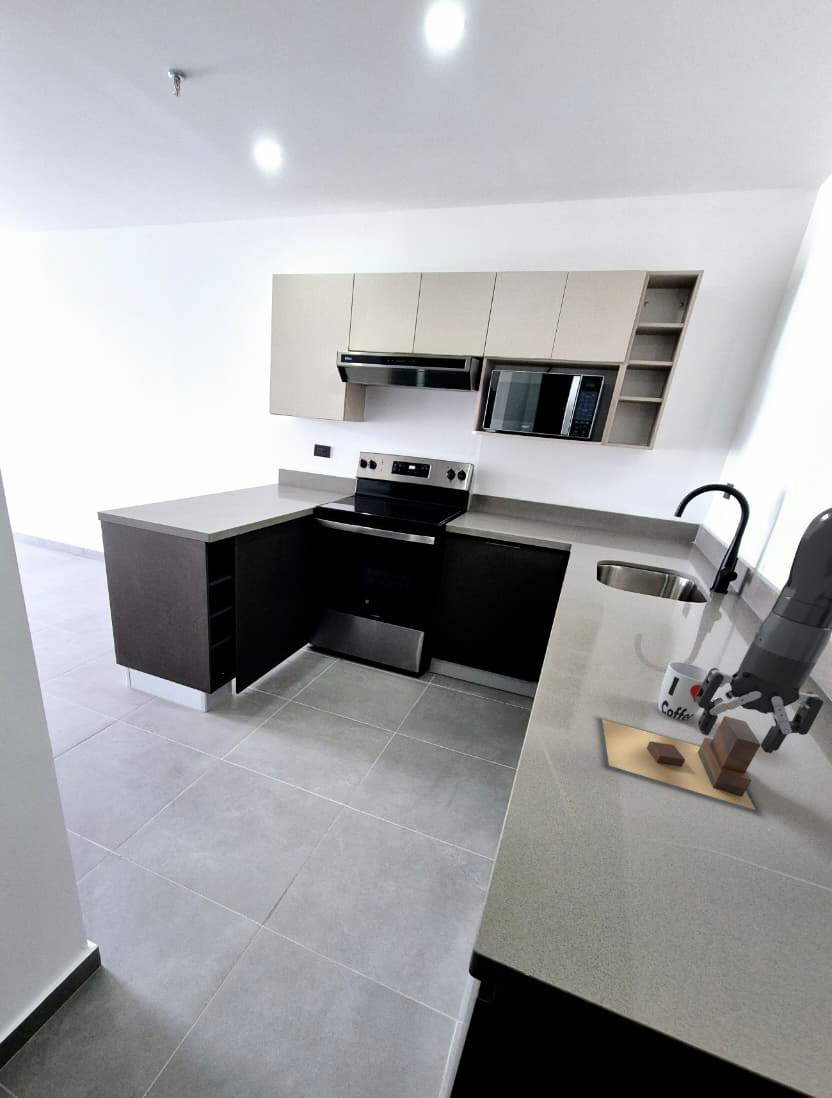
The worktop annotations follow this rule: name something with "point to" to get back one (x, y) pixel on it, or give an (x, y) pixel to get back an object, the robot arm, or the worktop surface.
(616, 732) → the board
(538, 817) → the worktop surface
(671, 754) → the small brown wooden tile
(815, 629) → the robot arm
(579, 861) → the worktop surface
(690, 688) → the cup
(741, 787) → the stepped wooden block
